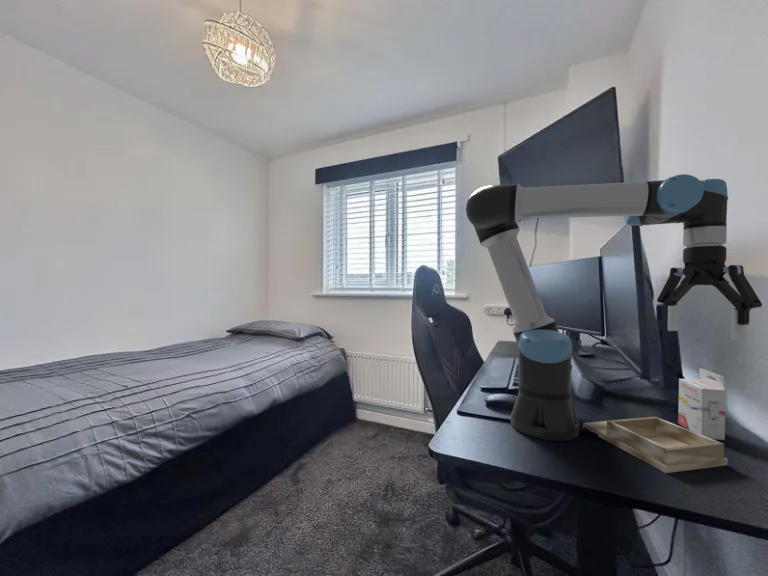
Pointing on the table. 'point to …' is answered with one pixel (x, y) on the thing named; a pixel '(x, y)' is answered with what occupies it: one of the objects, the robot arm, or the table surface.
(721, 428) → the ink cartridge box
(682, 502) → the table surface
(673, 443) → the wooden tray
